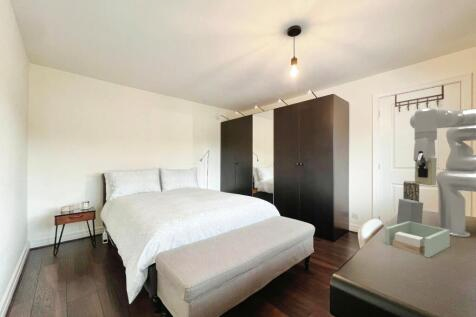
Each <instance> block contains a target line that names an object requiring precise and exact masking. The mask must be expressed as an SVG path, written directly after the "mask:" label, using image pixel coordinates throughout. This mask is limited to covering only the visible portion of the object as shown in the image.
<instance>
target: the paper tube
mask: <svg viewBox="0 0 476 317" xmlns="http://www.w3.org/2000/svg"><path fill="white" fill-rule="evenodd" d="M402 185H403V186H402V187H403V188H402V189H403V194H402V195H403V198H402V199H409V200H414V201H418V202H420V184H415V180H404V181H403V184H402Z"/></svg>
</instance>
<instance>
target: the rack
mask: <svg viewBox="0 0 476 317" xmlns="http://www.w3.org/2000/svg"><path fill="white" fill-rule="evenodd" d="M438 227H439V226H433V225H428V224H423V223H422V224H420V223H415V222H410V221H407V222H404V223H400V224H397V223H396V224H394V225H391V226H390V225H389V226H387V227H385V236H384V237H385V241H384V242H385V245H388V246H390V245H393V239H395V233H397V232H403V233H407V234H411V235H415V236H419V237H423V242H424V245H425V252H424V257H425V258H431V257H433V256H435V255H437V254H439V253H441V252H442V251H444V250H446V249H448V248H449V247H450V244H451V242H450V241H451V240H450V236H451V235H450V230H448V229H443V228H438Z"/></svg>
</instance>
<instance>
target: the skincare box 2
mask: <svg viewBox="0 0 476 317" xmlns="http://www.w3.org/2000/svg"><path fill="white" fill-rule="evenodd" d="M437 159H438V158H437V157H435V158H430V159H429V161H428V162H427V168H426V169H428V177H427V178H423V177H418V163H417V162H415V161H414V164H415V166H414V181H415V184H419V185H423V186H424V185H425V186H437V181H436V176H437ZM422 161H425V160H422Z"/></svg>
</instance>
